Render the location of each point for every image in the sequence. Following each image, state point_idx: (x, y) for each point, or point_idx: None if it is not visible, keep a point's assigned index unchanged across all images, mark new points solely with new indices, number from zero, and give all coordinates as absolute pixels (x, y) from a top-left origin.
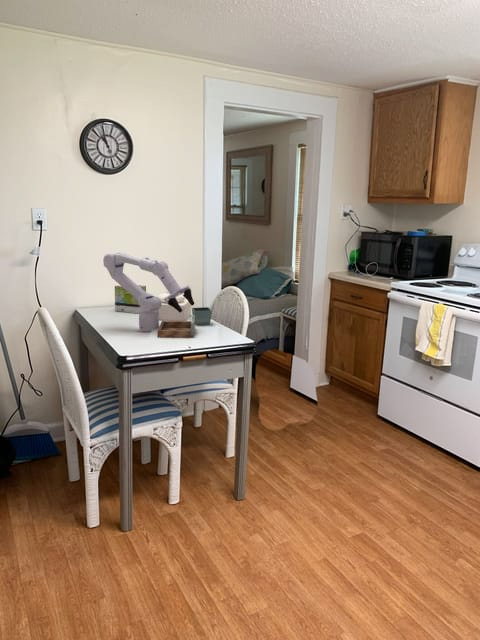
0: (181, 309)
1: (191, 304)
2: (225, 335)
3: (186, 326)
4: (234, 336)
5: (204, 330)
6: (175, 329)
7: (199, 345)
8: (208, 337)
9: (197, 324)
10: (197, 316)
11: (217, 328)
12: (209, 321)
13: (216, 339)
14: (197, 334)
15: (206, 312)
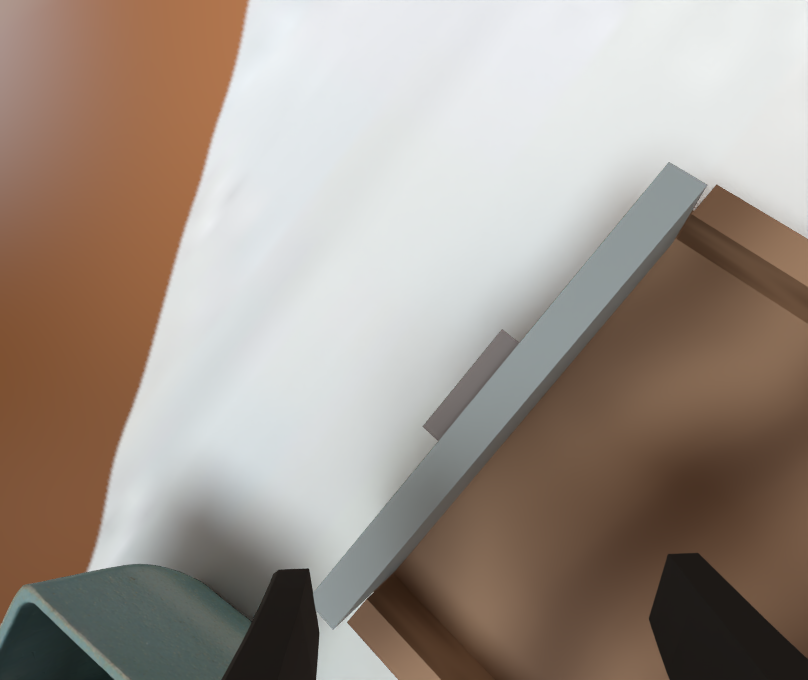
0: (700, 575)
1: (313, 650)
2: (274, 227)
3: (439, 634)
4: (241, 158)
5: (295, 499)
6: (603, 666)
7: (721, 29)
8: (439, 250)
9: None
10: (216, 675)
11: (164, 478)
12: (152, 566)
13: (427, 148)
14: None
15: (93, 618)
